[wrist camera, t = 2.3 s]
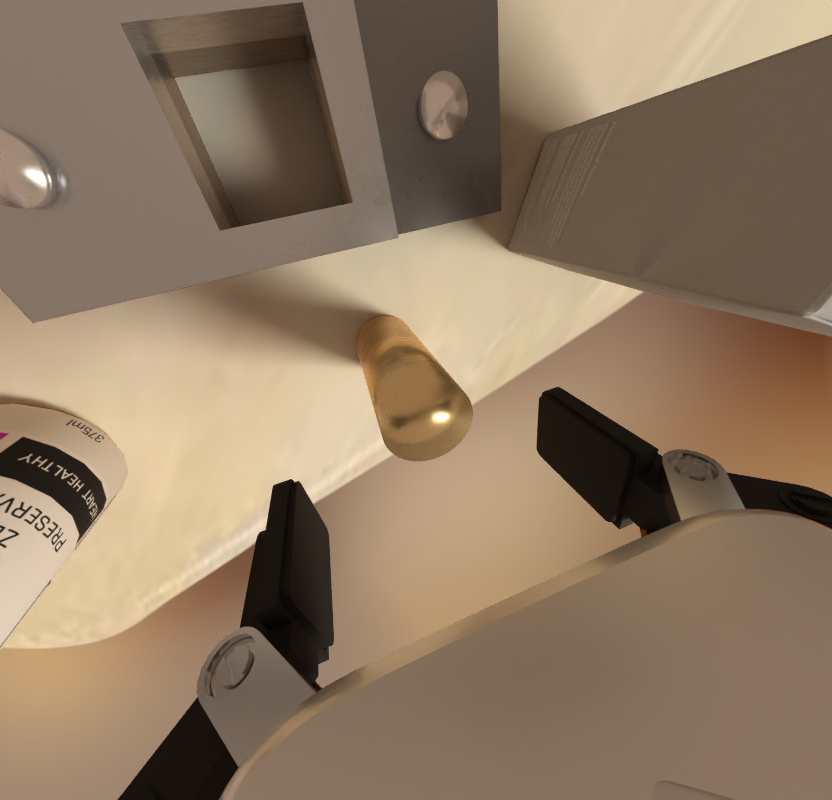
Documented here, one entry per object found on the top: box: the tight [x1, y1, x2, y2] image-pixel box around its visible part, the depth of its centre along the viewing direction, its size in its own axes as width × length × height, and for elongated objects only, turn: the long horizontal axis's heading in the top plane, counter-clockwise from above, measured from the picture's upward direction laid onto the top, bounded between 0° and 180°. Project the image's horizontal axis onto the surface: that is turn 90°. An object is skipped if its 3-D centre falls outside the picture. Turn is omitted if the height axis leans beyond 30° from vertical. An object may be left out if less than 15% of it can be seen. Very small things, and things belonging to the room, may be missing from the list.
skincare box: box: [508, 35, 832, 336], centre depth 13 cm, size 8×7×16 cm
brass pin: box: [356, 315, 473, 461], centre depth 16 cm, size 4×4×10 cm
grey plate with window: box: [0, 0, 501, 323], centre depth 12 cm, size 22×9×5 cm, turn 101°
